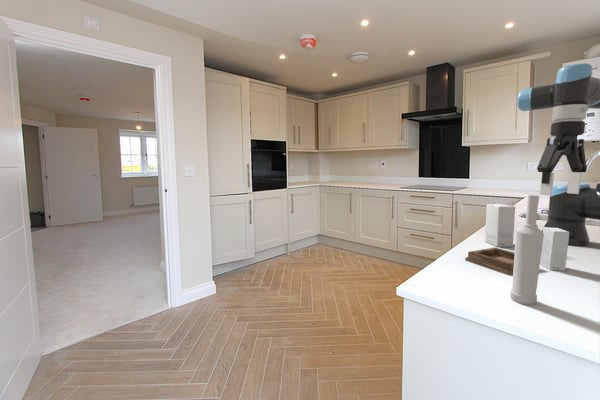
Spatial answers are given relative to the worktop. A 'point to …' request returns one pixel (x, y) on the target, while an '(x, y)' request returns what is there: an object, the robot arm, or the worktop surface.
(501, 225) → the skincare box
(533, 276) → the bottle
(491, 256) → the brown square tray
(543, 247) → the skincare box
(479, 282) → the worktop surface
